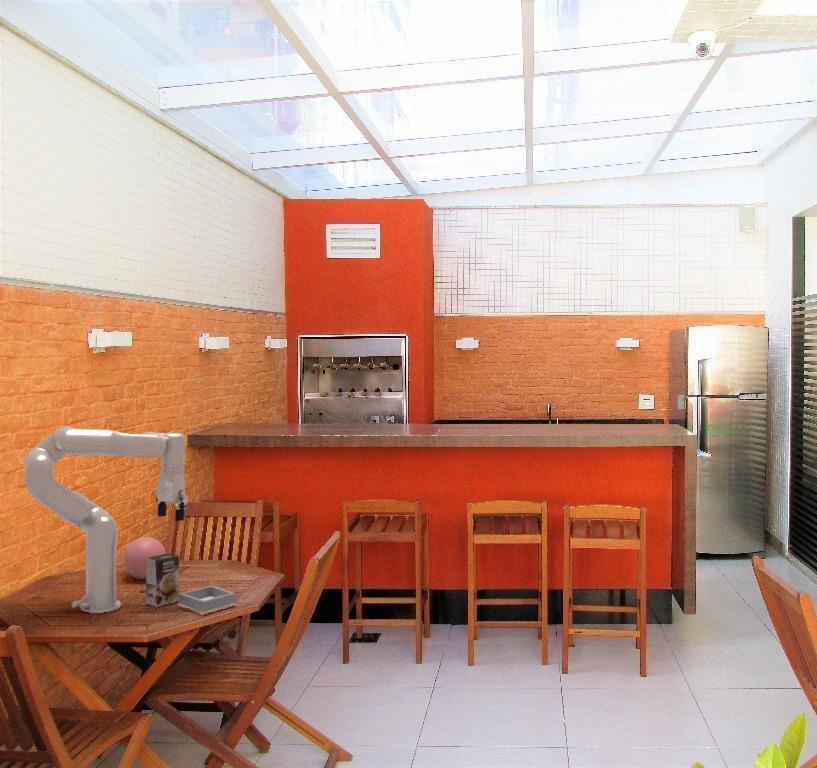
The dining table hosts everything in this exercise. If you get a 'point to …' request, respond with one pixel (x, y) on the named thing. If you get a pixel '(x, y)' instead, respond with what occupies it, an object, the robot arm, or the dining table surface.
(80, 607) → the robot arm
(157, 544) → the balloon
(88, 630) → the dining table surface
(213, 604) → the holder
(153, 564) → the coffee box
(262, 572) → the dining table surface
